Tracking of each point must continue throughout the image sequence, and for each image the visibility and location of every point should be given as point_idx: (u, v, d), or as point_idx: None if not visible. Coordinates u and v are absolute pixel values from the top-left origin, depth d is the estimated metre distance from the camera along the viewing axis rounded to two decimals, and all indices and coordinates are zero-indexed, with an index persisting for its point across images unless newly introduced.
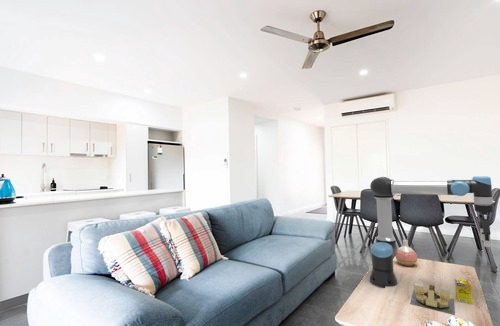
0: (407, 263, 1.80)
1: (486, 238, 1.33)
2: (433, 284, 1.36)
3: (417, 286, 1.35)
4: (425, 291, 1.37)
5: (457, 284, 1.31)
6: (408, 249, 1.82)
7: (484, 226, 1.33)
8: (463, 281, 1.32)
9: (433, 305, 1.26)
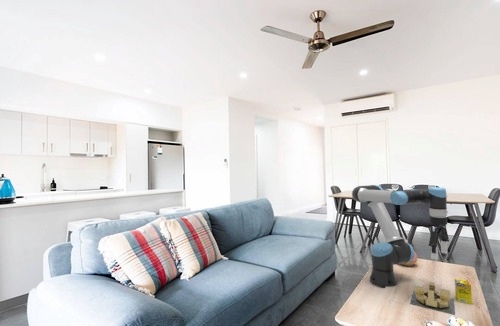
0: (407, 263, 1.80)
1: (432, 250, 1.32)
2: (433, 284, 1.36)
3: (417, 286, 1.35)
4: (425, 291, 1.37)
5: (457, 284, 1.31)
6: None
7: (430, 238, 1.32)
8: (463, 281, 1.32)
9: (433, 305, 1.26)
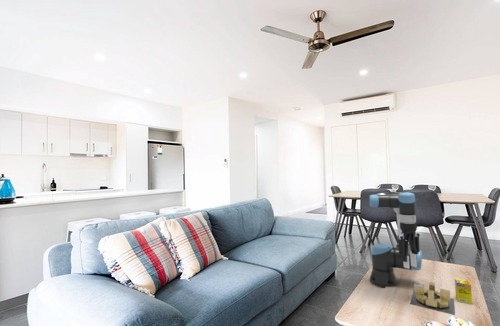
0: None
1: (403, 259, 1.33)
2: (433, 284, 1.36)
3: (417, 286, 1.35)
4: (425, 291, 1.37)
5: (457, 284, 1.31)
6: None
7: (399, 247, 1.33)
8: (463, 281, 1.32)
9: (433, 305, 1.26)
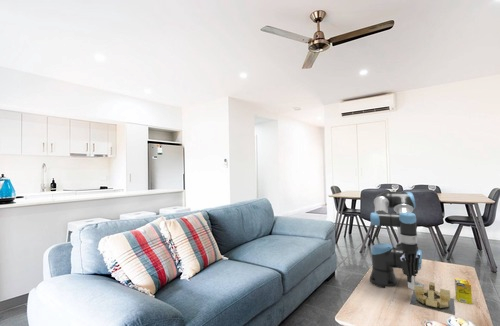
0: None
1: (407, 279, 1.33)
2: (433, 284, 1.36)
3: (417, 286, 1.35)
4: (425, 291, 1.37)
5: (457, 284, 1.31)
6: None
7: (402, 268, 1.33)
8: (463, 281, 1.32)
9: (433, 305, 1.26)
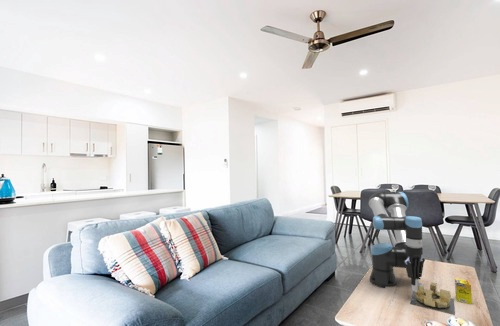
0: None
1: (411, 282, 1.35)
2: (434, 284, 1.35)
3: None
4: (426, 291, 1.37)
5: (457, 284, 1.31)
6: None
7: (407, 271, 1.35)
8: (463, 281, 1.32)
9: (431, 305, 1.27)
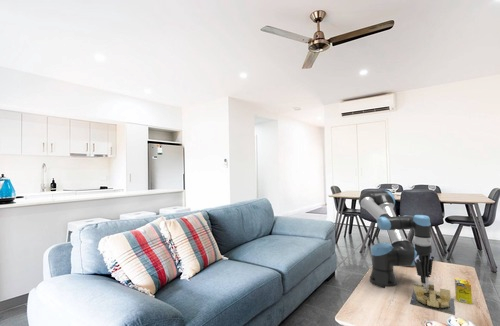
0: None
1: (421, 280, 1.37)
2: (443, 290, 1.29)
3: (428, 283, 1.38)
4: (439, 294, 1.33)
5: (457, 284, 1.31)
6: None
7: (417, 269, 1.37)
8: (463, 281, 1.32)
9: (416, 296, 1.35)
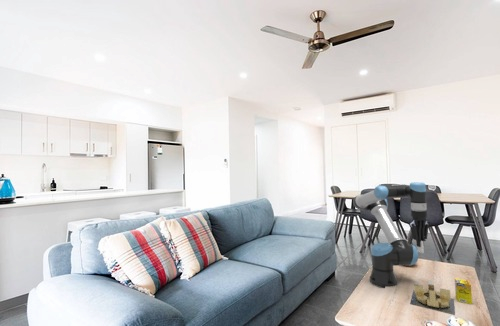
0: None
1: (417, 244, 1.43)
2: (443, 290, 1.29)
3: (428, 283, 1.38)
4: (439, 294, 1.33)
5: (457, 284, 1.31)
6: None
7: (412, 233, 1.43)
8: (463, 281, 1.32)
9: (416, 296, 1.35)
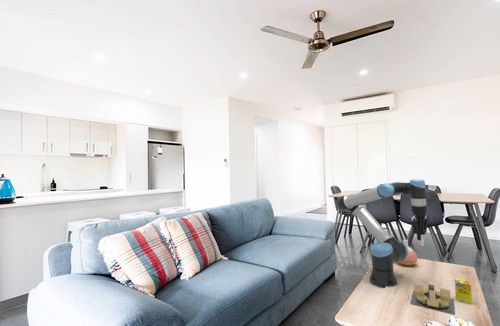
0: (407, 263, 1.80)
1: (417, 238, 1.51)
2: (443, 290, 1.29)
3: (428, 283, 1.38)
4: (439, 294, 1.33)
5: (457, 284, 1.31)
6: (408, 249, 1.82)
7: (413, 228, 1.50)
8: (463, 281, 1.32)
9: (416, 296, 1.35)
